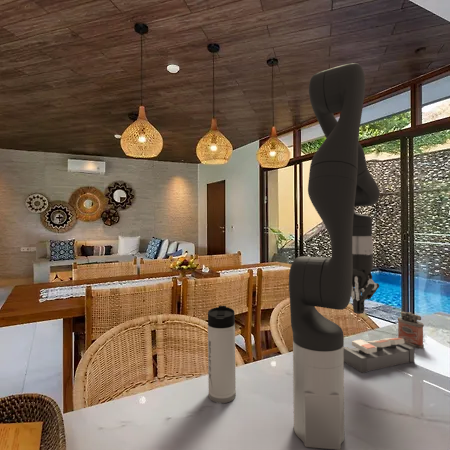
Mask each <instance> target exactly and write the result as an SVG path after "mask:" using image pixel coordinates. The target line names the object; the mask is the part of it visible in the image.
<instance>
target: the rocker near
mask: <svg viewBox="0 0 450 450" xmlns="http://www.w3.org/2000/svg"><path fill="white" fill-rule="evenodd" d="M367 342H368V341H366V340H364V339H355V340H351V346H353V348H358V349H360V350H361V351H363V352H365V353H367V354H368V353H373V352H377V347H375V346H373V345H371V344H369V343H367Z"/></svg>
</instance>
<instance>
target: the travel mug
mask: <svg viewBox="0 0 450 450" xmlns="http://www.w3.org/2000/svg"><path fill="white" fill-rule="evenodd" d="M235 315H236V314H235V310H234V309H233V308H231V307H227V305H218V307H217V306H216V307H213V308H210V309H209V310H208V312H207V363H208V364H207V365H208V366H207V367H208V368H207V369H208V371H207V373H208V378H207V379H208V381H207V382H208V383H207V384H208V398H209V400H211V401H212V402H213V403H217V404H227V403H229V402H232V401H233V400H234V399H235V398H236V393H237V390H236V383H237V382H236V377H237V376H236V327H235V326H236V323H235Z"/></svg>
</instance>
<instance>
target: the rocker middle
mask: <svg viewBox="0 0 450 450" xmlns="http://www.w3.org/2000/svg"><path fill="white" fill-rule="evenodd" d="M366 342H367V343H369V344H371V345H373V346H375V347H386V346H391V343H390V341H386V340H381V341H380V340H379V339H378V340H377V339H376V340H375V339H374V340H368V341H366Z"/></svg>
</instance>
